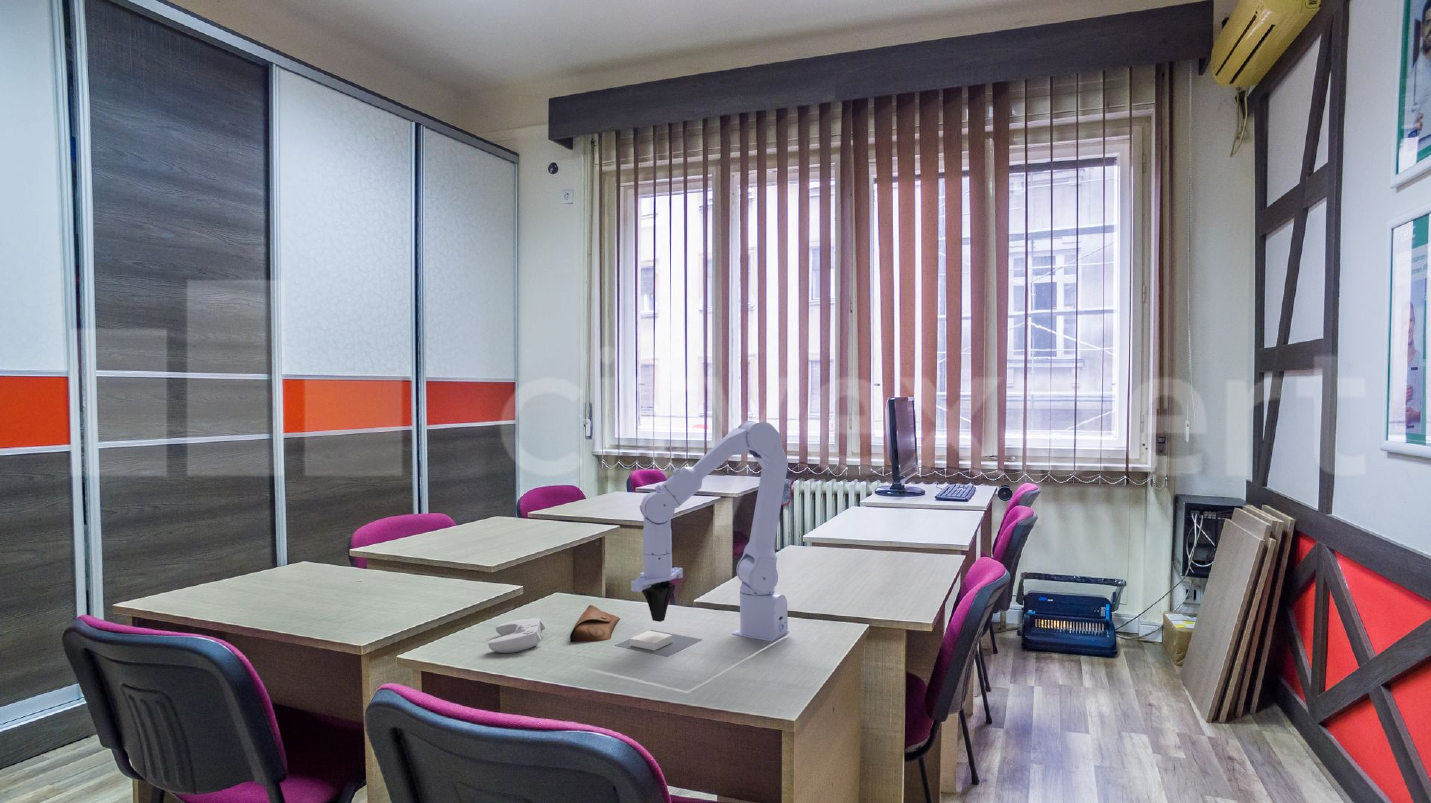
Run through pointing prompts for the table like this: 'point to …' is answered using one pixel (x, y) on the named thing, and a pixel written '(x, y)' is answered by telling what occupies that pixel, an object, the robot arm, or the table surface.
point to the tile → (651, 640)
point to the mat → (675, 646)
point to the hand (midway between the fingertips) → (658, 620)
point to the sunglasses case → (594, 626)
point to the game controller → (517, 635)
